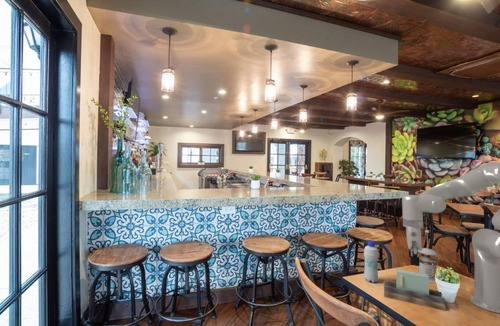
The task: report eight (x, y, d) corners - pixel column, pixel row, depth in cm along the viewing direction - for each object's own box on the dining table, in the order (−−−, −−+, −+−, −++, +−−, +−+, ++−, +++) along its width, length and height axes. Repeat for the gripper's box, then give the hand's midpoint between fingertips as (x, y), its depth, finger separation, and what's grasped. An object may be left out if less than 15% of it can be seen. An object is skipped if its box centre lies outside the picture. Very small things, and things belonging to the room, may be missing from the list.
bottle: (375, 278, 130) (375, 239, 130) (380, 284, 124) (380, 243, 124) (361, 277, 131) (361, 239, 131) (366, 283, 124) (366, 243, 124)
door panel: (427, 295, 111) (428, 274, 111) (429, 299, 107) (429, 278, 107) (396, 288, 116) (396, 269, 116) (396, 292, 113) (396, 272, 113)
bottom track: (440, 296, 112) (440, 289, 112) (445, 310, 102) (445, 302, 102) (384, 285, 123) (384, 278, 123) (384, 296, 112) (384, 288, 112)
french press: (411, 275, 134) (411, 228, 134) (427, 272, 137) (427, 226, 137) (429, 283, 124) (429, 233, 124) (446, 280, 128) (446, 231, 128)
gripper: (425, 228, 103) (426, 270, 103) (420, 219, 118) (421, 256, 118) (404, 226, 106) (405, 267, 106) (401, 218, 122) (403, 253, 121)
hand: (414, 261), depth 112 cm, fingers open, 9 cm apart
